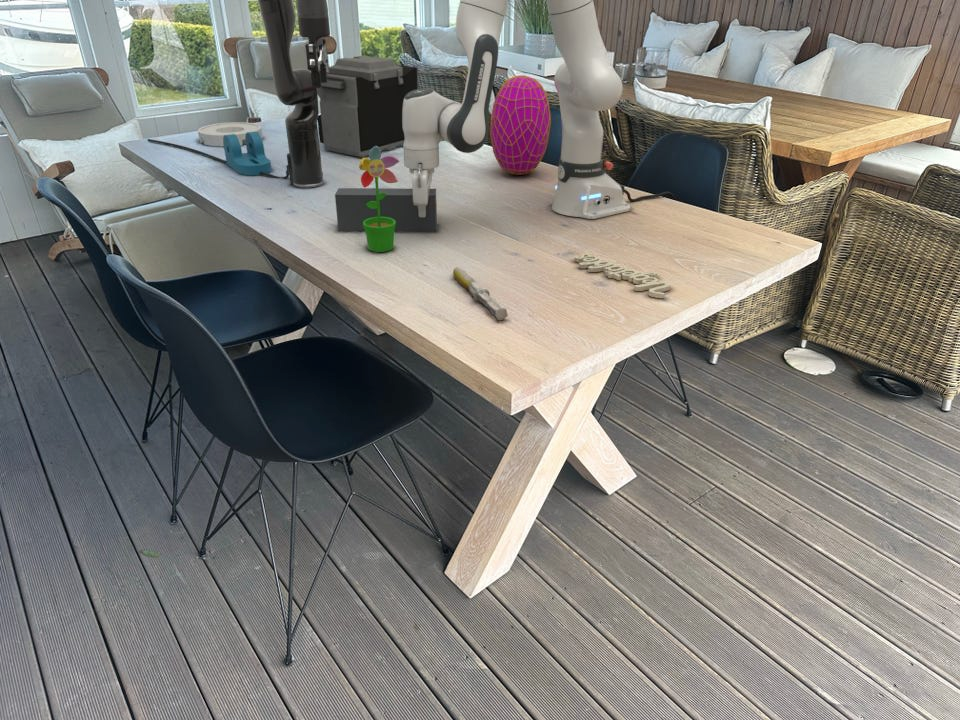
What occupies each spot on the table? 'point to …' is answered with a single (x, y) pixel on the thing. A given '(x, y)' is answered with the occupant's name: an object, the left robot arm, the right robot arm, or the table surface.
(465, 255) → the table surface
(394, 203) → the box
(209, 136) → the ashtray
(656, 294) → the decorative sign
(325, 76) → the left robot arm
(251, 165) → the camera mount
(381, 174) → the potted flower
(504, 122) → the decorative egg
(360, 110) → the cooler
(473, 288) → the syringe
